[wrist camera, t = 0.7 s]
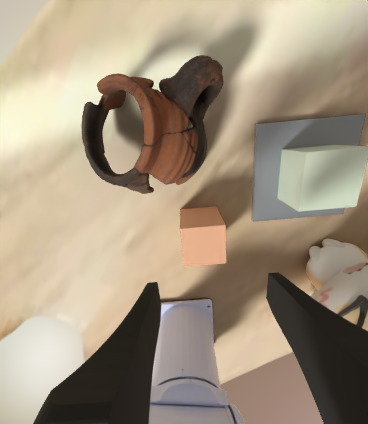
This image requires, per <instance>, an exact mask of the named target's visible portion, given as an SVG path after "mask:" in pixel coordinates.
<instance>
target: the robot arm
mask: <svg viewBox="0 0 368 424" xmlns="http://www.w3.org/2000/svg"><path fill="white" fill-rule="evenodd" d="M266 298H267V301H268V303H269V306H270V308H271V311H272V313H273V315H274V317H275V319H276V321H277V323H278V324H279V326H280V328H281V330H282V332H283V334H284V335H285V337H286V339H287V341H288V343H289V345H290V346H291V348H292V350H293V352H294V354H295V356H296V358H297V360H298V362H299V365H300V367H301V369H302V371H303V374H304V376H305V378H306V380H307V383H308V385H309V388H310V390H311V392H312V395H313V397H314V400H315V402H316V405H317V407H318V410H319V412H320V415H321V417H322V420H323V422H324V424H368V331H367V330H365V329H363V328H361V327H359V326H357V325H355V324H354V323H352V322H350V321H348V320H346V319H345V318H343V317H341V316H340V315H338V314H336V313H335V312H333V311H331V310H330V309H328V308H327V307H325V306H324V305H322V304H321V303H319V302H318V301H316V300H315V299H313V298H312V297H310V296H309V295H308V294H306V293H305V292H303V291H302V290H301V289H299V288H298V287H297V286H295V285H294V284H293V283H291V282H290V281H289V280H288V279H286V278H285V277H284V276H282V275H281V274H280V273H278V272H277V273H269V274H268V286H267V297H266ZM207 305H209V306H207ZM154 358H155V359H154ZM153 365H154V367H153ZM152 374H153V376H152ZM33 424H246V422H245V420H244V418H243V416H242V415H241V413H240V412H239V410H238V408H237V407H236V406H235V405H234V404H228V399H227V393H226V390H224V389H220V382H219V376H218V369H217V363H216V357H215V350H214V334H213V313H212V301H211V300H210V299H201V300H188V301H175V302H162V303H161V301H160V295H159V289H158V283H157V282H153V283H147V285H146V286H145V288H144V290H143V292H142V293H141V295H140V297H139V298H138V300H137V301H136V303H135V304H134V306H133V307H132V309H131V310H130V312H129V313H128V315H127V316H126V317H125V319H124V320H123V321H122V323H121V324H120V325H119V327H118V328H117V329H116V330H115V331H114V333H113V334H112V335H111V336H110V337H109V338H108V339H107V341H106V342H105V343H104V344H103V345H102V346H101V347H100V348H99V349H98V350H97V351H96V352H95V353H94V354H93V355H92V356H91V357H90V358H89V359H88V360H87V361H86V362H85V363H84V364H82V365H81V367H79V368H78V369H77V370H76V371H75V372H74V373H72V374H71V375H70V376H69V377H68V378H66V379H65V380H64V381H63V382H61V383H60V384H59V385H58V386H56V387H55V388H54V389H53V390H52V391H51V392H50V394H49V395H48V397H47V399H46V400H45V402H44V404H43V406H42V407H41V409H40V411H39V413H38V415H37V417H36V419H35V421H34V423H33Z"/></svg>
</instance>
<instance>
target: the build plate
mask: <svg viewBox="0 0 368 424" xmlns="http://www.w3.org/2000/svg"><path fill="white" fill-rule="evenodd" d="M365 116H366V114H358V115H347V116H336V117H326V118H315V119H305V120H294V121H283V122H273V123H262V124H255V148H254V172H253V196H252V221H265V220H277V219H288V218H300V217H312V216H324V215H336V214H343V213H344V208H335V209H323V210H311V211H300V212H298V211H297V210H295V209H294V208H292V207H290V206H289V205H287V204H286V203H284V202H283V201H281V200H279V199H278V198H277V197H278V186H279V175H280V164H281V153H282V149H292V148H303V147H314V146H325V145H350V146H359V142H360V138H361V133H362V129H363V124H364V120H365Z"/></svg>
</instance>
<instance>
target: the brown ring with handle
mask: <svg viewBox="0 0 368 424" xmlns="http://www.w3.org/2000/svg"><path fill="white" fill-rule="evenodd" d="M153 85H154V82H153V81H152V80H150V79H146V78H142V77H141V78H140V77H128V76H126V75H123V74H112V75H108V76H106V77H105V78H103V79H101V80H100V81H99V82H98V84H97V87H98V90H99V92H100V93H102V94H103V96H102V98H101V100H100V102H99V104H98V105H95V104H93V103H91V102H87V103H86V104H85V106H84V111H83V116H82V139H83V144H84V146H85V152H86V156H87V158H88V160H89V162H90V165H91V167H92V168H93V170H94V171H95V173H96V174H97V175H98V176H99V177H100V178H101V179H103V180H105V181H106V182H109V183H111V184H113V185H118V186H123V187H127V188H128V189H130V190H133V191H138V192H140V193H142V194H146V193H151V192H153V191H154V189H153V188H152V187H150V186H149V185H150V184H149V174H151V175H152V176H153V177H154V178H156V179H158V180H159V181H161V182H163V183H164V184H166V185H167V184H172V183H175V182H176V184H177V185H180V184H182V183H185V182H186V181H187V180H189V178H191V177H192V176H193V175H194V174H195V173H196V172H197V171H198V169H199V168H200V167H201V165H202V163H203V161H204V158H205V155H206V149H207V139H206V134H205V129H204V124H203V119H204V116H205V113H206V111H207V109H208V107H209V105H210V104H211V103H212V102H213V101H214V99H215V98H216V97H217V95H218V94H219V92H220V90H221V88H222V86H223V75H222V66H221V65H220V64H219V63H218V62H217V61H216V60H212V59H211V57H208V56H203V55H201V56H196V57H194V58H192V59H191V60H189V61H188V62H187V63H185V64H184V65H183V66H182V67H181V68H180V70H179V71H178V72H177V74H176V75H174V76H173V77H171V78H166V79H163V80H161V81H160V83H159V88H160V90H161V92H160V91H158V90H156V89H155V90H154V89H152V87H153ZM125 90H126V91H128V92H129V93H130V94H132V95H133V96H134V97H135V99H136V101H137V102H138V104H139V107H140V110H141V113H142V117H143V123H144V145H143V147H142V151H141V154H140V156H139V158H138V160H137V162H136V164H135V166H134V168H133V169H131V170H130V171H128V172H127V173H125V174H116V173H114V172H113V171H112V170H111V168H110V166H109V164H108V161H107V159H106V157H105V155H104V153H105V151H104V145H103V136H102V130H103V126H104V122H105V120H106V117H107V115H108V112H109V110H111V109H116V108H120V107H122V105H123V103H124V101H125V97H126V91H125ZM189 120H190V121H191V123H192V124H193V127H192V128H190V129H188V126H189ZM180 177H181V178H180Z"/></svg>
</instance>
